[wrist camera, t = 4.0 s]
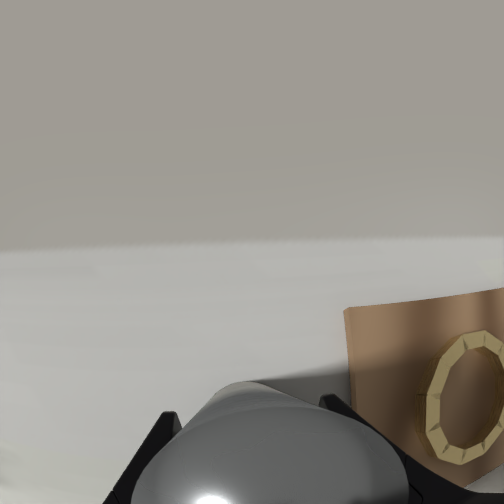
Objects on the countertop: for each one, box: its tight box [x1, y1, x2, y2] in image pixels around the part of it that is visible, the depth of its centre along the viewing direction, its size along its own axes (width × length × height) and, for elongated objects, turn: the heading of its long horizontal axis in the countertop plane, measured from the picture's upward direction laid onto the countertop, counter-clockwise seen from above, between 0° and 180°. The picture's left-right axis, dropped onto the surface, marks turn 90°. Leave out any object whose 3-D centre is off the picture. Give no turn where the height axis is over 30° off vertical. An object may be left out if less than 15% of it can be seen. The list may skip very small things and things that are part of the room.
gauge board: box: [344, 288, 504, 488], centre depth 14 cm, size 21×14×2 cm, turn 93°
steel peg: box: [131, 381, 409, 504], centre depth 8 cm, size 4×4×12 cm
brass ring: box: [415, 330, 504, 465], centre depth 13 cm, size 8×8×1 cm
